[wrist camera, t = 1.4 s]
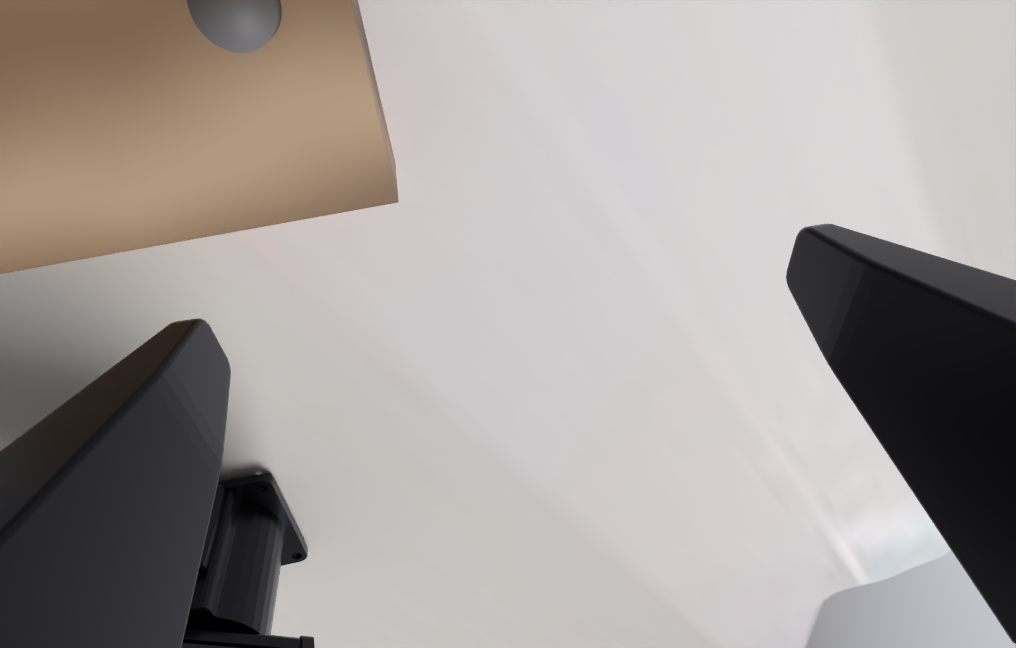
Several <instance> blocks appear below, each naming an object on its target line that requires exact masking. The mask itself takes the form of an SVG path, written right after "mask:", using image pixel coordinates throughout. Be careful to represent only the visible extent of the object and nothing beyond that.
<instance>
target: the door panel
mask: <svg viewBox="0 0 1016 648" xmlns="http://www.w3.org/2000/svg"><path fill="white" fill-rule="evenodd" d="M397 202H398V191H397V179H396V167H395V160H394V155H393V151H392V147H391V143H390V138H389V134H388V130H387V125H386V121H385V117H384V112H383V108H382V104H381V99H380V95H379V91H378V87H377V82H376V78H375V74H374V69H373V65H372V61H371V56H370V52H369V48H368V43H367V39H366V35H365V31H364V26H363V22H362V18H361V13H360V9H359V5H358V0H0V274H2V273H7V272H13V271H19V270H24V269H30V268H35V267H41V266H46V265H52V264H58V263H63V262H69V261H74V260H80V259H85V258H91V257H96V256H102V255H108V254H113V253H119V252H124V251H130V250H135V249H141V248H147V247H152V246H158V245H163V244H169V243H174V242H180V241H185V240H191V239H197V238H202V237H208V236H213V235H219V234H224V233H230V232H236V231H241V230H247V229H252V228H258V227H263V226H269V225H274V224H280V223H286V222H291V221H297V220H302V219H308V218H313V217H319V216H325V215H330V214H336V213H341V212H347V211H352V210H358V209H363V208H369V207H375V206H380V205H386V204H391V203H397Z"/></svg>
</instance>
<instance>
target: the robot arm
mask: <svg viewBox="0 0 1016 648" xmlns="http://www.w3.org/2000/svg"><path fill="white" fill-rule="evenodd" d="M786 279H787V284H788V287H789V290H790V291H791V293H792V295H793V297H794V299H795V301H796V303H797V305H798V307H799V309H800V311H801V313H802V315H803V317H804V319H805V321H806V323H807V325H808V327H809V329H810V331H811V333H812V335H813V337H814V338H815V340H816V342H817V344H818V346H819V348H820V350H821V352H822V354H823V356H824V357H825V359H826V361H827V363H828V365H829V366H830V368H831V369H832V371H833V373H834V374H835V376H836V377H837V379H838V380H839V382H840V383H841V385H842V386H843V388H844V389H845V391H846V392H847V394H848V395H849V397H850V398H851V400H852V401H853V403H854V404H855V406H856V407H857V409H858V410H859V412H860V413H861V415H862V416H863V418H864V419H865V421H866V422H867V424H868V425H869V427H870V428H871V430H872V431H873V433H874V434H875V436H876V437H877V439H878V440H879V442H880V443H881V445H882V446H883V448H884V449H885V451H886V452H887V454H888V455H889V457H890V458H891V460H892V462H893V463H894V465H895V466H896V468H897V469H898V471H899V472H900V474H901V475H902V477H903V478H904V480H905V481H906V483H907V484H908V486H909V487H910V489H911V490H912V492H913V493H914V495H915V496H916V498H917V499H918V501H919V502H920V504H921V505H922V507H923V508H924V510H925V511H926V513H927V514H928V516H929V517H930V519H931V520H932V522H933V523H934V525H935V526H936V528H937V529H938V531H939V532H940V534H941V535H942V537H943V538H944V540H945V541H946V543H947V544H948V546H949V547H950V549H951V550H952V552H953V553H954V555H955V556H956V558H957V559H958V561H959V562H960V564H961V565H962V567H963V568H964V570H965V571H966V573H967V574H968V576H969V577H970V579H971V580H972V582H973V583H974V585H975V586H976V588H977V589H978V591H979V592H980V594H981V595H982V597H983V598H984V600H985V601H986V603H987V604H988V606H989V607H990V609H991V610H992V612H993V613H994V615H995V616H996V618H997V619H998V621H999V622H1000V624H1001V625H1002V627H1003V629H1004V630H1005V632H1006V633H1007V635H1008V636H1009V638H1010V639H1011V641H1012V642H1013V643H1015V644H1016V280H1013V279H1010V278H1007V277H1003V276H1000V275H997V274H993V273H990V272H987V271H984V270H980V269H977V268H974V267H971V266H967V265H964V264H961V263H957V262H954V261H951V260H948V259H944V258H941V257H938V256H934V255H931V254H928V253H925V252H921V251H918V250H915V249H912V248H908V247H905V246H902V245H898V244H895V243H892V242H889V241H885V240H882V239H879V238H876V237H872V236H869V235H866V234H862V233H859V232H856V231H853V230H849V229H846V228H843V227H839V226H836V225H833V224H822V225H815V226H809V227H805V228H803V229H802V230H800V232H799V233H798V235H797V237H796V240H795V244H794V248H793V251H792V255H791V258H790V262H789V265H788V269H787V275H786ZM230 375H231V372H230V365H229V362H228V359H227V357H226V355H225V353H224V351H223V349H222V348H221V346H220V344H219V342H218V340H217V338H216V337H215V335H214V333H213V331H212V329H211V327H210V326H209V324H208V323H207V322H206V321H205V320H202V319H191V320H184V321H178V322H173V323H171V324H169V325H168V326H167V327H165V328H164V329H163V330H161V331H160V332H159V333H157V334H156V335H155V336H153V337H152V338H151V339H149V340H148V341H147V342H145V343H144V344H143V345H141V346H140V347H139V348H137V349H136V350H135V351H133V352H132V353H131V354H129V355H128V356H127V357H125V358H124V359H123V360H121V361H120V362H119V363H117V364H116V365H115V366H113V367H112V368H111V369H109V370H108V371H107V372H105V373H104V374H103V375H101V376H100V377H99V378H97V379H96V380H95V381H93V382H92V383H91V384H89V385H88V386H87V387H85V388H84V389H83V390H81V391H80V392H79V393H77V394H76V395H75V396H73V397H72V398H71V399H69V400H68V401H67V402H65V403H64V404H63V405H61V406H60V407H59V408H57V409H56V410H55V411H53V412H52V413H51V414H49V415H48V416H47V417H45V418H44V419H43V420H41V421H40V422H39V423H37V424H36V425H35V426H33V427H32V428H31V429H29V430H28V431H27V432H25V433H24V434H23V435H21V436H20V437H19V438H17V439H16V440H15V441H13V442H12V443H11V444H9V445H8V446H7V447H5V448H4V449H3V450H1V451H0V648H314V637H308V636H300V638H294V637H284V636H274V635H271V628H272V621H273V615H274V608H275V601H276V594H277V588H278V581H279V574H280V567H281V566H282V565H286V564H291V563H296V562H300V561H303V560H304V559H306V557H307V552H308V548H307V545H306V543H305V541H304V539H303V537H302V535H301V533H300V531H299V529H298V527H297V525H296V523H295V521H294V519H293V517H292V515H291V513H290V511H289V509H288V506H287V504H286V502H285V500H284V498H283V496H282V494H281V492H280V490H279V488H278V486H277V484H276V482H275V480H274V479H273V477H271V476H269V475H265V474H262V475H255V476H250V477H245V478H240V479H235V480H230V481H225V482H220V483H218V481H219V476H220V471H221V465H222V458H223V451H224V440H225V430H226V419H227V408H228V398H229V387H230Z"/></svg>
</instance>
